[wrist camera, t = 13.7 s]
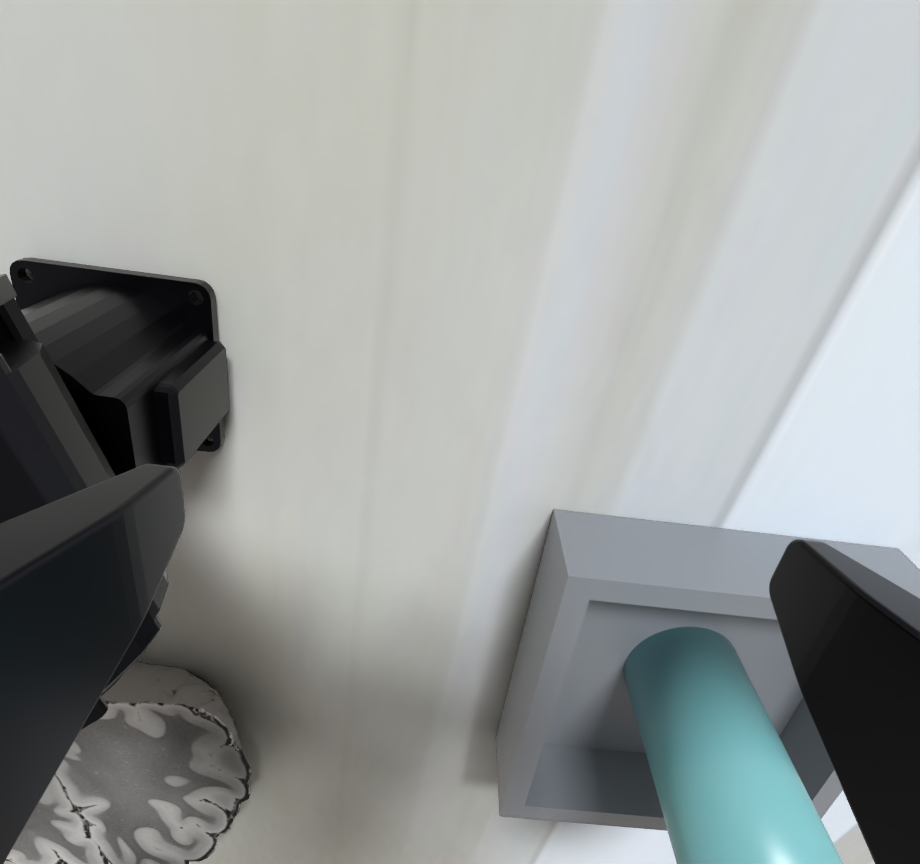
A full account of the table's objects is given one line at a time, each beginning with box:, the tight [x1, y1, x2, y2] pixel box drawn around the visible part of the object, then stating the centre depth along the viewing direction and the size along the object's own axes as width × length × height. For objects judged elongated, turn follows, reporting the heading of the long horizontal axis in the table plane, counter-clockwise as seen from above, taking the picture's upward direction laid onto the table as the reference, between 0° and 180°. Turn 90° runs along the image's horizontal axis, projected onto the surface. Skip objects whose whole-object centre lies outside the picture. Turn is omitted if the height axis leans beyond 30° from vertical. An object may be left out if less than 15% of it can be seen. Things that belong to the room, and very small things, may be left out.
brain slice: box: [6, 662, 251, 864], centre depth 31 cm, size 20×17×3 cm
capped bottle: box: [624, 627, 843, 864], centre depth 22 cm, size 5×5×13 cm
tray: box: [496, 510, 920, 831], centre depth 27 cm, size 15×15×4 cm
